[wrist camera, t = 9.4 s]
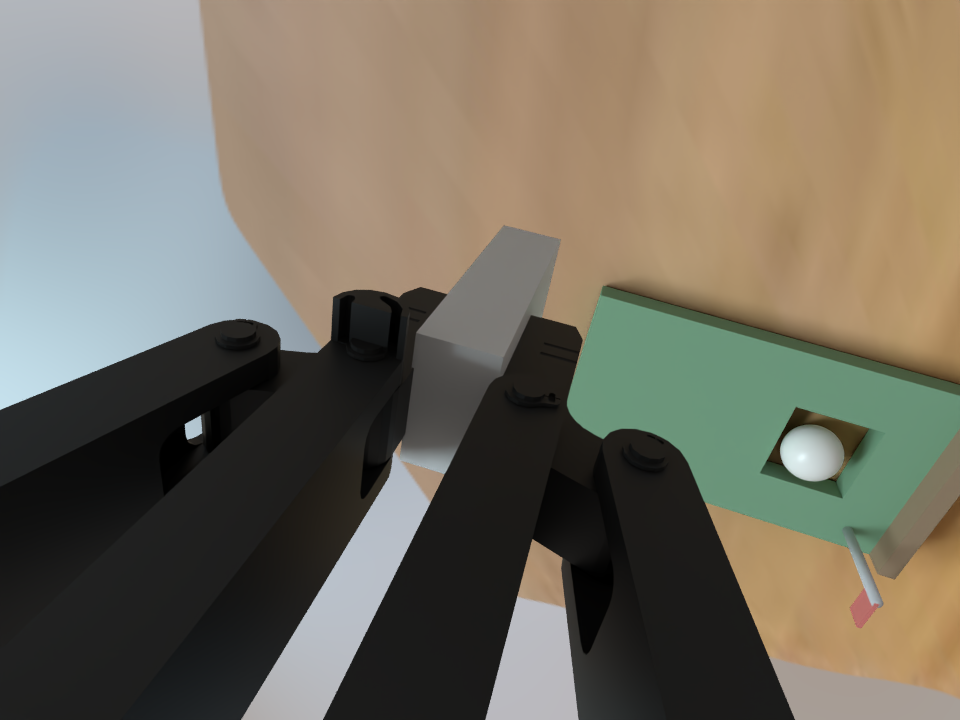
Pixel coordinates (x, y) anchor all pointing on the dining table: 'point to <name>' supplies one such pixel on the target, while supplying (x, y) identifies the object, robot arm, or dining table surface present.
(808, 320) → the dining table surface
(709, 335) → the green
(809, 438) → the ball
